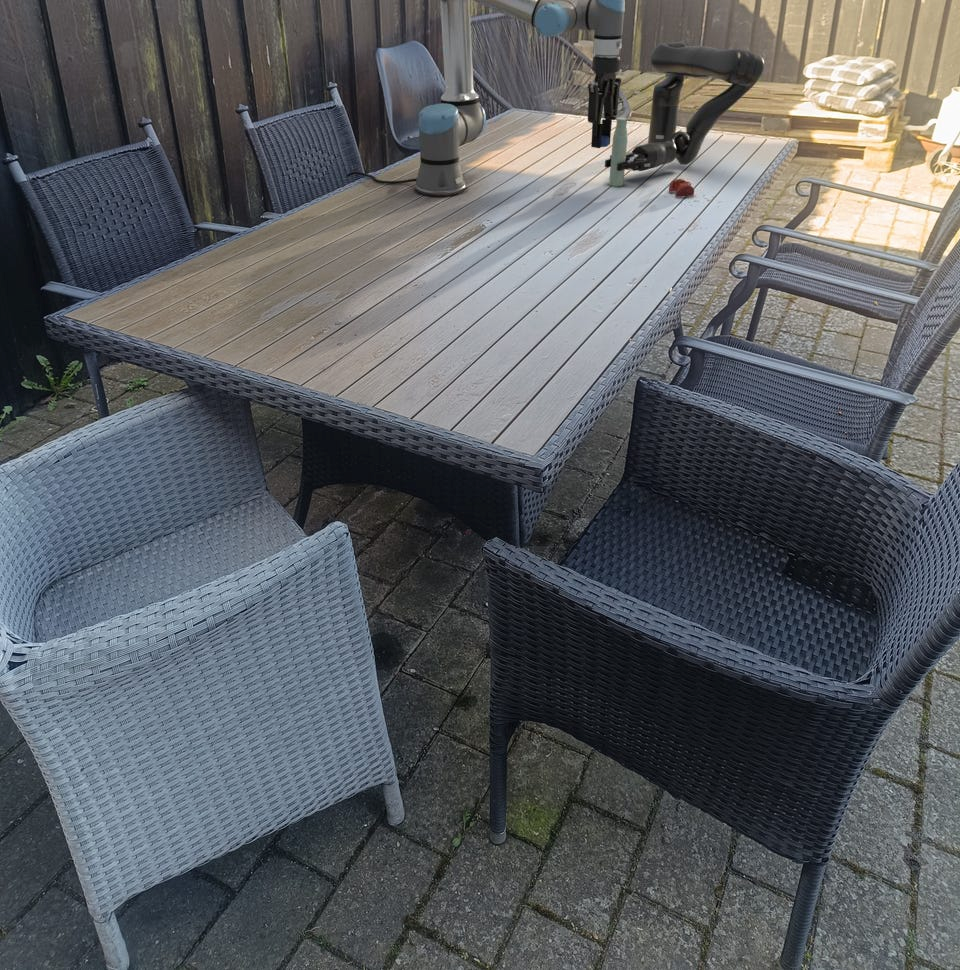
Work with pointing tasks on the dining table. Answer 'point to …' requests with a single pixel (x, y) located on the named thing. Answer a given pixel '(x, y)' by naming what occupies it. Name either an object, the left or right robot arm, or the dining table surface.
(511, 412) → the dining table surface
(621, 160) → the bottle
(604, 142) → the cap
